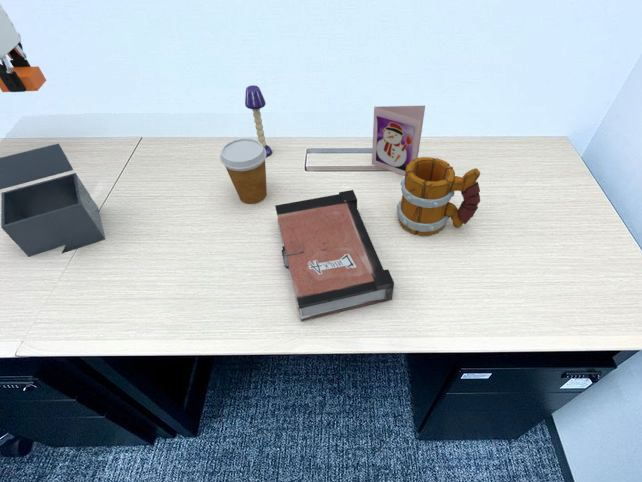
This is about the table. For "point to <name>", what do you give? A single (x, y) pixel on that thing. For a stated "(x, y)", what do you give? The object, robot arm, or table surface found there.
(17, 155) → the flap
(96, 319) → the table surface
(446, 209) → the mug
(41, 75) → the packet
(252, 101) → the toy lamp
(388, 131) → the greeting card
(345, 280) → the book
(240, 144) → the disposable coffee cup
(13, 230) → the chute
